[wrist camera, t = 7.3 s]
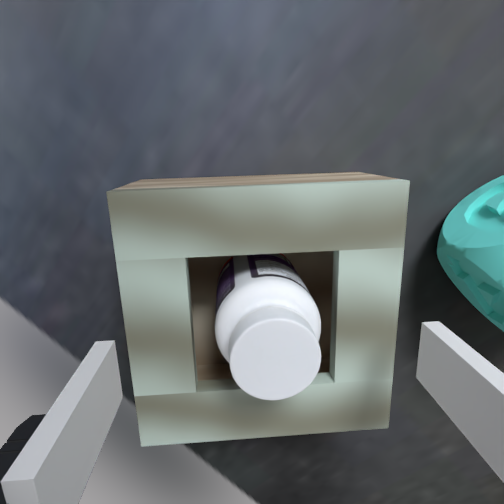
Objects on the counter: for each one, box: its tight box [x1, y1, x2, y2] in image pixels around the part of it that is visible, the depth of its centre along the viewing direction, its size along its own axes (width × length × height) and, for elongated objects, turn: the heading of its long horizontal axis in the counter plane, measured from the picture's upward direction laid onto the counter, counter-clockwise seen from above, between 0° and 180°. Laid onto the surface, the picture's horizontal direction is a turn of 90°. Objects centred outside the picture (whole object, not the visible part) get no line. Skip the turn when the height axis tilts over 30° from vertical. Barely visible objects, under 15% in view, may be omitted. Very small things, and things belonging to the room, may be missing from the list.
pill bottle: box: [215, 253, 321, 400], centre depth 20 cm, size 5×5×10 cm
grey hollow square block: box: [107, 172, 410, 447], centre depth 22 cm, size 14×14×7 cm
